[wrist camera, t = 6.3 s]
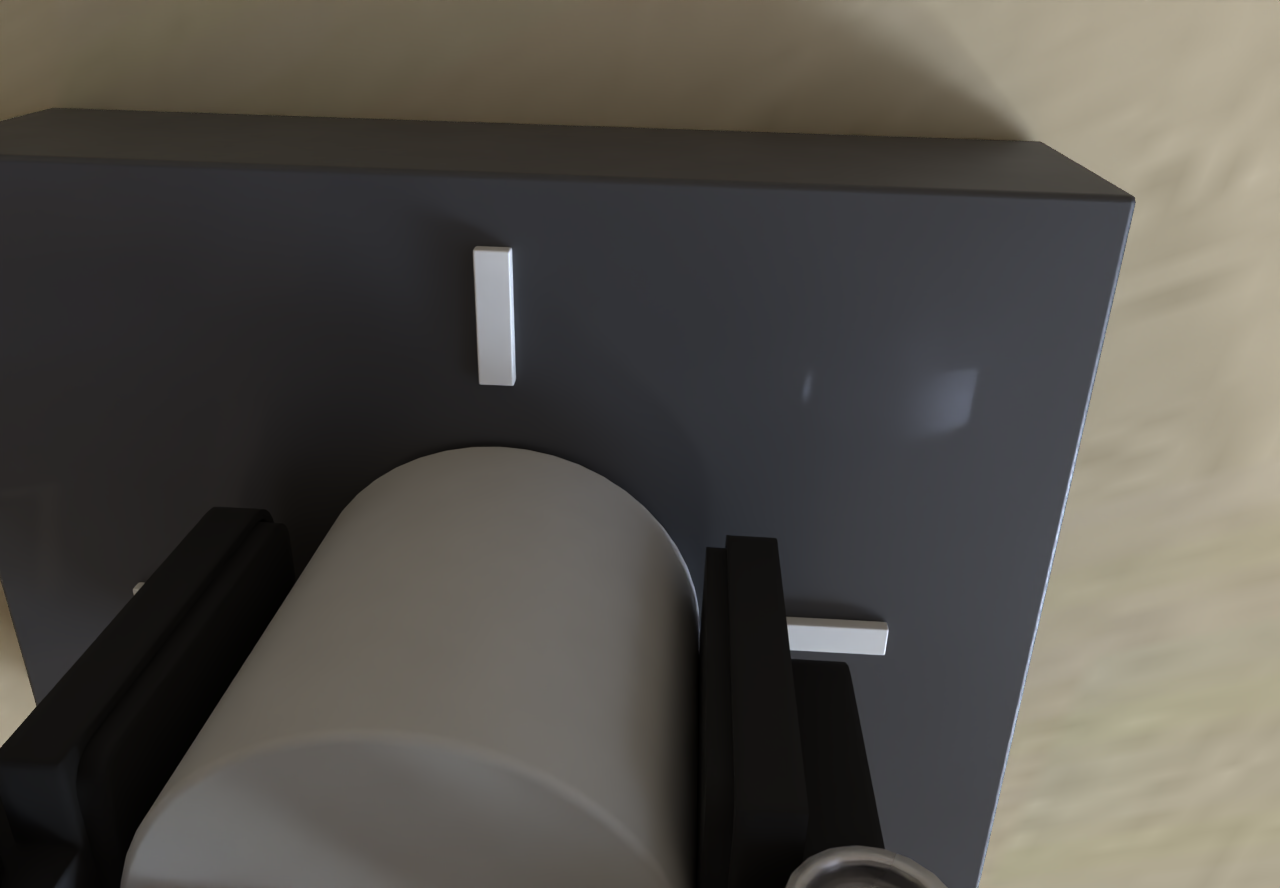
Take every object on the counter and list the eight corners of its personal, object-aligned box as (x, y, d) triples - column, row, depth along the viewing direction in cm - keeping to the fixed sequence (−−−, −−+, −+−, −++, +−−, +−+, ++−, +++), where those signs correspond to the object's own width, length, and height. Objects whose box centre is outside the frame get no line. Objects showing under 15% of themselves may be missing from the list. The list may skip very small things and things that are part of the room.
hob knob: (708, 453, 11) (711, 788, 7) (690, 775, 13) (683, 1198, 8) (294, 433, 11) (31, 748, 7) (336, 754, 13) (153, 1158, 9)
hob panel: (923, 786, 17) (969, 960, 14) (184, 741, 17) (80, 901, 14) (1044, 140, 12) (1146, 200, 9) (50, 107, 13) (-138, 153, 10)
